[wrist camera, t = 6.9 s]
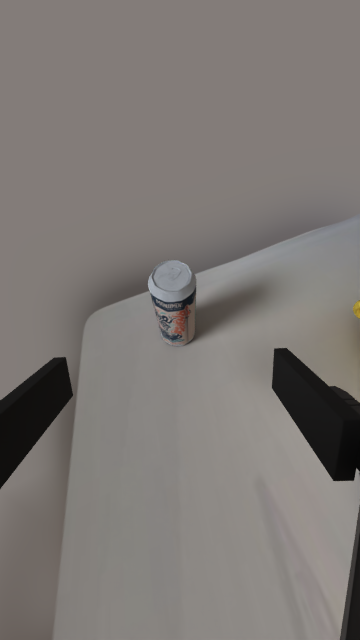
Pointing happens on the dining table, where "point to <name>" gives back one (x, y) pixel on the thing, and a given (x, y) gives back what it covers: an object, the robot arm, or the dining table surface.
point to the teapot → (357, 309)
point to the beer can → (174, 301)
